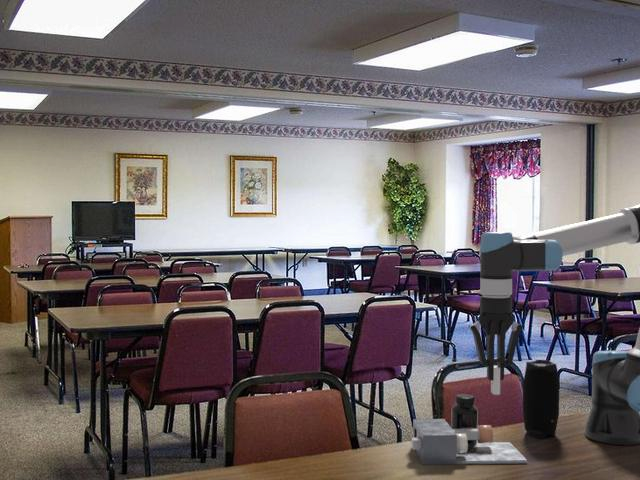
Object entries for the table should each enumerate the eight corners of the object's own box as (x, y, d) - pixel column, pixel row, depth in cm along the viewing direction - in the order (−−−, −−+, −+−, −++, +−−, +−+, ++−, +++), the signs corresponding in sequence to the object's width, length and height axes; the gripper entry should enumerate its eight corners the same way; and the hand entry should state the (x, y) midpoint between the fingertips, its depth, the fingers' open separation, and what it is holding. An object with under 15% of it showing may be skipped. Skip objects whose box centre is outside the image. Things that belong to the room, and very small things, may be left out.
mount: (509, 445, 196) (510, 418, 195) (527, 463, 182) (527, 434, 181) (412, 446, 194) (413, 419, 194) (422, 464, 180) (423, 435, 180)
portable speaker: (563, 438, 201) (564, 365, 200) (528, 439, 200) (529, 365, 200) (551, 429, 210) (552, 358, 209) (517, 430, 209) (518, 359, 208)
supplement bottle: (466, 447, 194) (466, 400, 193) (445, 441, 199) (445, 395, 198) (482, 442, 198) (483, 396, 198) (461, 436, 203) (462, 391, 203)
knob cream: (463, 449, 187) (463, 431, 186) (467, 454, 182) (467, 436, 182) (410, 449, 186) (410, 431, 186) (413, 455, 182) (413, 437, 181)
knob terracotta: (488, 440, 194) (488, 422, 194) (492, 445, 190) (493, 427, 189) (437, 440, 193) (437, 423, 193) (440, 446, 189) (441, 428, 189)
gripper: (517, 294, 187) (517, 389, 188) (465, 294, 187) (465, 390, 188) (527, 297, 180) (527, 396, 181) (473, 298, 179) (472, 397, 180)
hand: (495, 393), depth 184 cm, fingers closed
